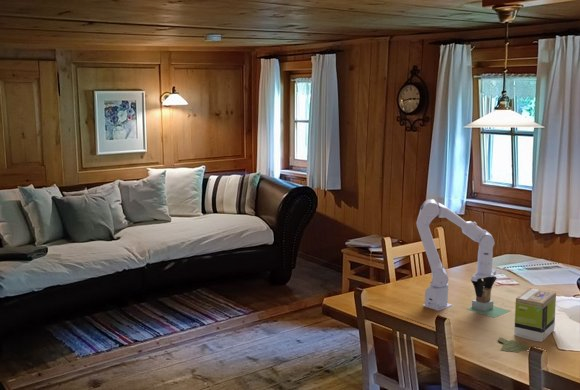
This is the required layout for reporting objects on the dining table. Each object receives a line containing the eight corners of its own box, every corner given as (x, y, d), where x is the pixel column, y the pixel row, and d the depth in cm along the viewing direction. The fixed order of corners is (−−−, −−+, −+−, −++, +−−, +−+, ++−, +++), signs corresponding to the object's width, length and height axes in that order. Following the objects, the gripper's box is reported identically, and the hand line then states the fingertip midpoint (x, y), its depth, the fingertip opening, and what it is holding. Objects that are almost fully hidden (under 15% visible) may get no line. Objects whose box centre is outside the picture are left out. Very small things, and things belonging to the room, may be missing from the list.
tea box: (527, 324, 242) (530, 287, 239) (554, 330, 236) (557, 292, 233) (513, 336, 230) (515, 296, 228) (541, 343, 224) (544, 302, 222)
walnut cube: (484, 303, 256) (485, 291, 255) (476, 300, 259) (476, 288, 258) (490, 301, 258) (490, 289, 258) (481, 298, 261) (482, 286, 261)
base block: (484, 311, 255) (485, 304, 255) (471, 307, 260) (472, 300, 259) (493, 308, 259) (493, 300, 258) (480, 304, 263) (480, 297, 263)
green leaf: (532, 363, 208) (532, 360, 208) (485, 345, 223) (486, 342, 222) (551, 355, 214) (551, 352, 214) (505, 338, 229) (505, 335, 229)
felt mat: (494, 318, 248) (494, 317, 248) (465, 309, 258) (465, 309, 258) (510, 311, 256) (510, 310, 256) (482, 303, 265) (482, 302, 265)
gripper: (483, 267, 248) (481, 301, 251) (503, 261, 258) (501, 293, 260) (467, 264, 254) (466, 296, 256) (488, 257, 263) (486, 289, 265)
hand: (483, 294), depth 258 cm, fingers open, 5 cm apart
